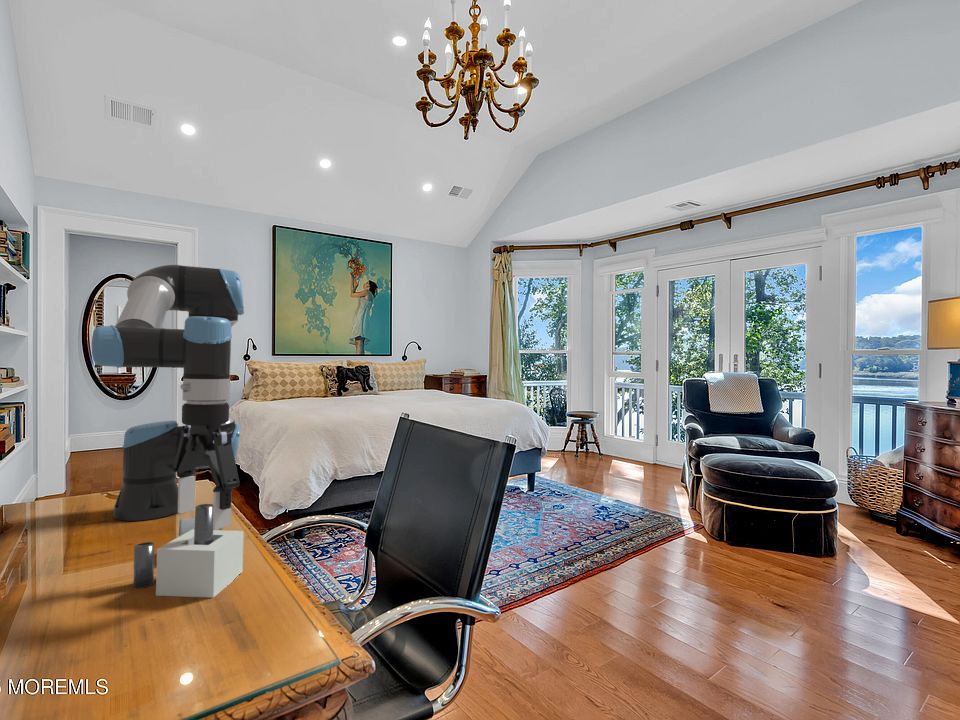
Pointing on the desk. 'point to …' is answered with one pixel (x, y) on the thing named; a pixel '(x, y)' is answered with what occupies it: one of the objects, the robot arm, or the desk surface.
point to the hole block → (199, 564)
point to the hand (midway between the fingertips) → (203, 519)
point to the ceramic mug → (188, 525)
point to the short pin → (143, 565)
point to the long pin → (203, 524)
